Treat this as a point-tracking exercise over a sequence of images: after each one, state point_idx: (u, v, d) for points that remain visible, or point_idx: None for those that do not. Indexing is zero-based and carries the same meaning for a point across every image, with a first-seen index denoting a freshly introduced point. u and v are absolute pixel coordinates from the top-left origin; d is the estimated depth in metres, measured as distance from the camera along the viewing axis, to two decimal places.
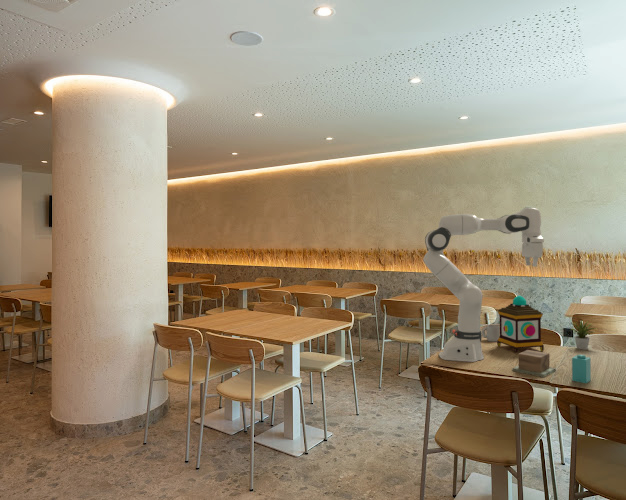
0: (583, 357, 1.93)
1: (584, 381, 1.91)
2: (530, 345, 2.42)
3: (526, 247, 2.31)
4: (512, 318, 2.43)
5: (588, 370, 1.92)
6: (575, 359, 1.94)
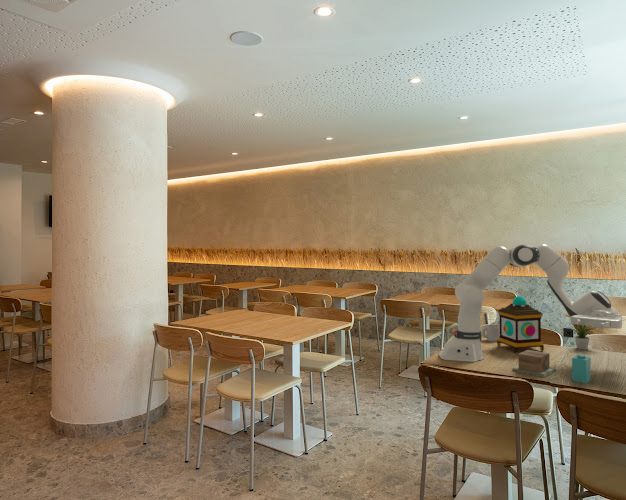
0: (583, 357, 1.93)
1: (584, 381, 1.91)
2: (530, 345, 2.42)
3: (590, 316, 2.10)
4: (512, 318, 2.43)
5: (588, 370, 1.92)
6: (575, 359, 1.94)
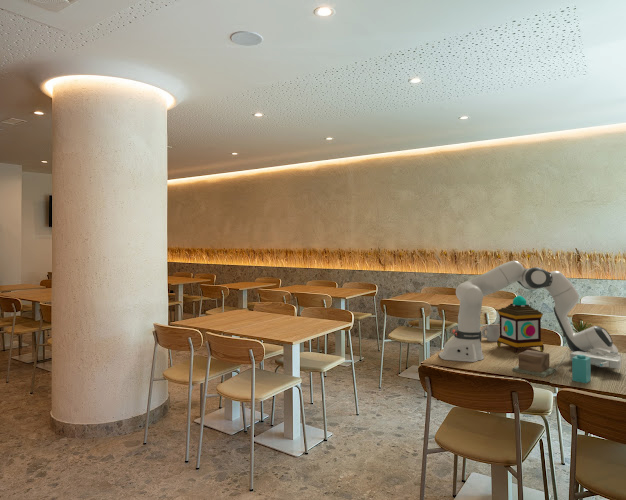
0: (583, 357, 1.93)
1: (584, 381, 1.91)
2: (530, 345, 2.42)
3: (590, 354, 2.10)
4: (512, 318, 2.43)
5: (588, 370, 1.92)
6: (575, 359, 1.94)
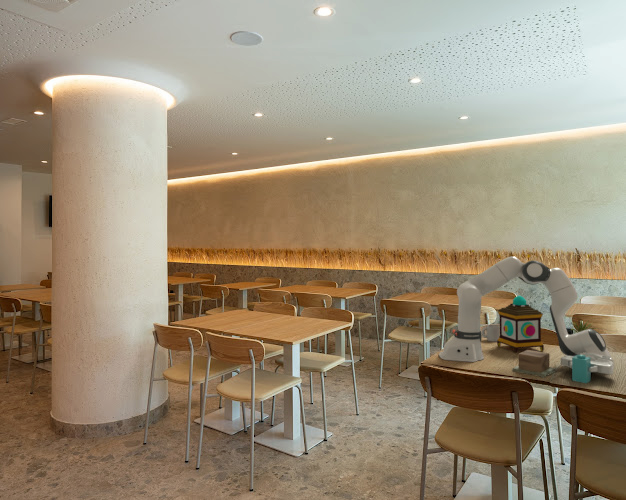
0: (583, 357, 1.93)
1: (584, 380, 1.91)
2: (530, 345, 2.42)
3: None
4: (512, 318, 2.43)
5: None
6: (575, 359, 1.94)
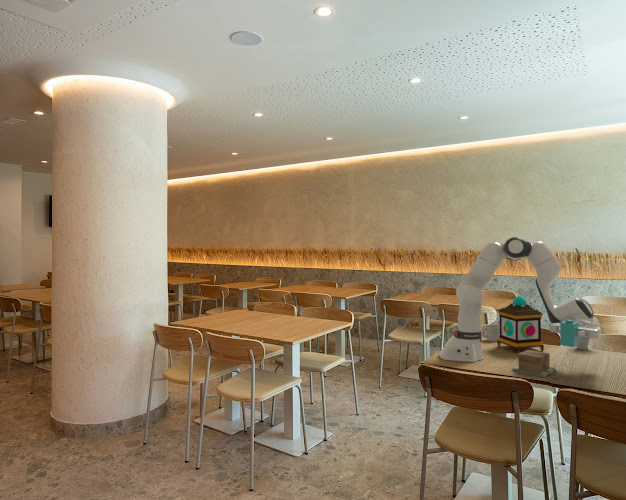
0: (571, 321, 1.96)
1: (572, 344, 1.94)
2: (530, 345, 2.42)
3: None
4: (512, 318, 2.43)
5: None
6: (563, 324, 1.96)
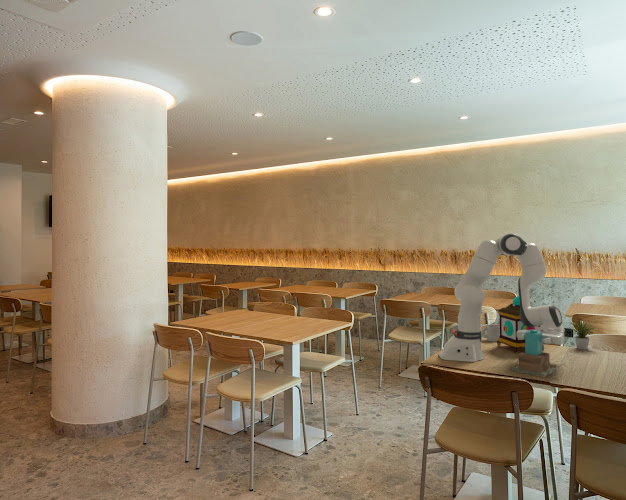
0: (535, 331, 2.08)
1: (535, 353, 2.06)
2: None
3: None
4: (512, 318, 2.43)
5: (539, 343, 2.07)
6: (528, 333, 2.08)
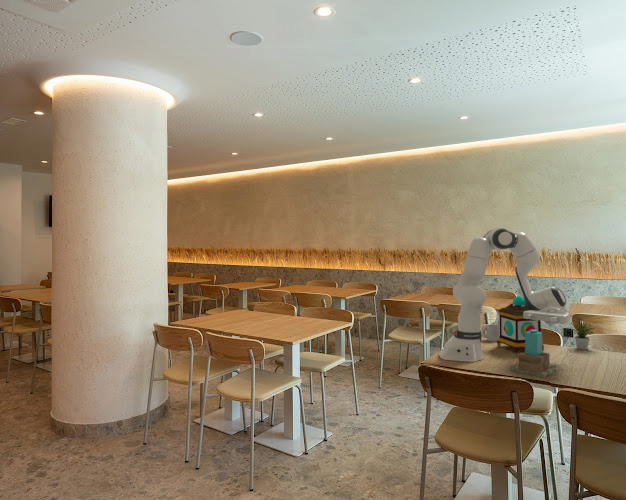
0: (535, 331, 2.08)
1: (535, 353, 2.06)
2: None
3: (541, 312, 2.22)
4: (512, 318, 2.43)
5: (539, 343, 2.07)
6: (528, 333, 2.08)
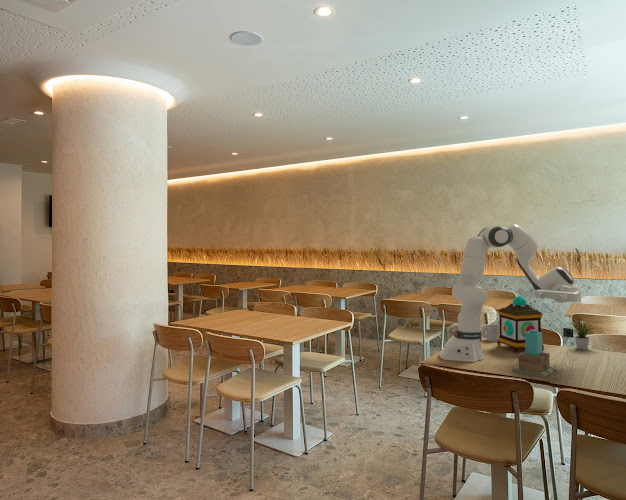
0: (535, 331, 2.08)
1: (535, 353, 2.06)
2: None
3: (552, 291, 2.24)
4: (512, 318, 2.43)
5: (539, 343, 2.07)
6: (528, 333, 2.08)
